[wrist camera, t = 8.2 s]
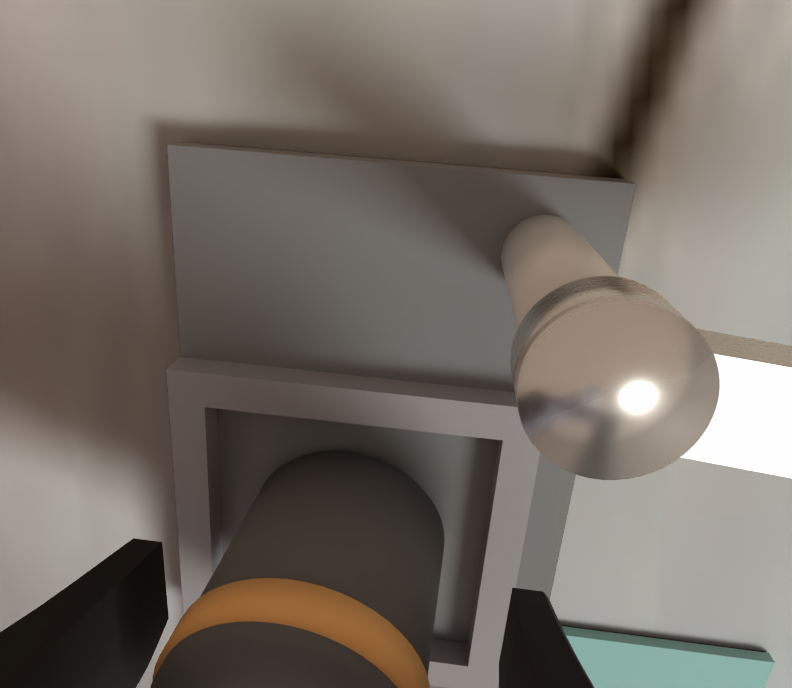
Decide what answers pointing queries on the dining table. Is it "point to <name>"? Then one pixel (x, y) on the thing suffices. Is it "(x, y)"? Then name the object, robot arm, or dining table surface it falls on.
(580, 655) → the mat
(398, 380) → the socket
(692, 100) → the dining table surface
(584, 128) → the dining table surface
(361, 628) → the plug
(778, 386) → the brushed metal lever
